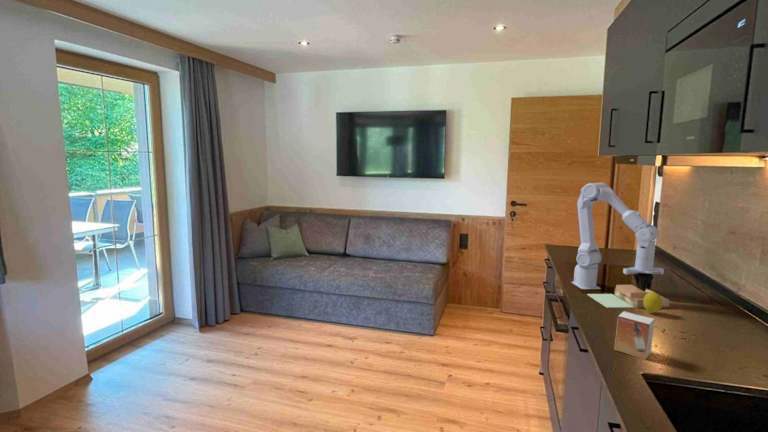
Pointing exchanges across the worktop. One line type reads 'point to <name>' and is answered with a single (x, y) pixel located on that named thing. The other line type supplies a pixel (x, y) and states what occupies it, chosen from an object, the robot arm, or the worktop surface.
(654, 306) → the lemon
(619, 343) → the small box
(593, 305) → the worktop surface
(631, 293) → the tile
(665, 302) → the tan tray
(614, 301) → the mat
